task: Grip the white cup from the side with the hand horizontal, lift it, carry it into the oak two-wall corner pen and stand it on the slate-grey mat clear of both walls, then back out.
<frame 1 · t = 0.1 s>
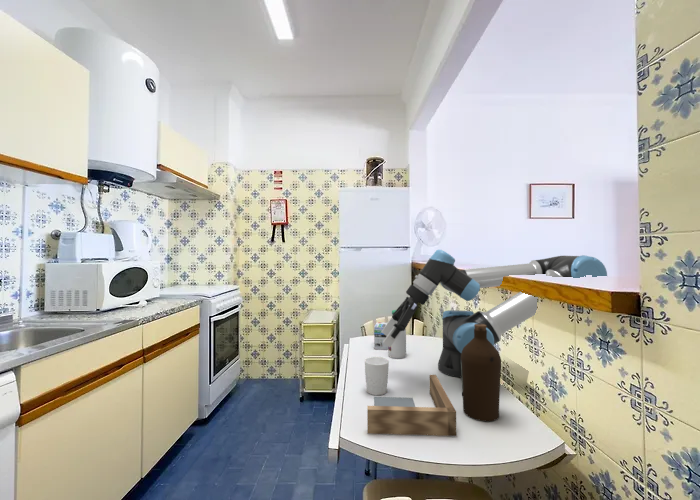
hand: (385, 339, 112), 15 cm above the table, tool tilted 35°, fingers open, 13 cm apart
white cup: (376, 391, 105), on the table
brown bottle: (480, 413, 91), on the table
light bulb box: (382, 347, 155), on the table
corner pen: (394, 407, 94), on the table
slate mat: (394, 407, 94), on the table
milk bottle: (397, 356, 141), on the table
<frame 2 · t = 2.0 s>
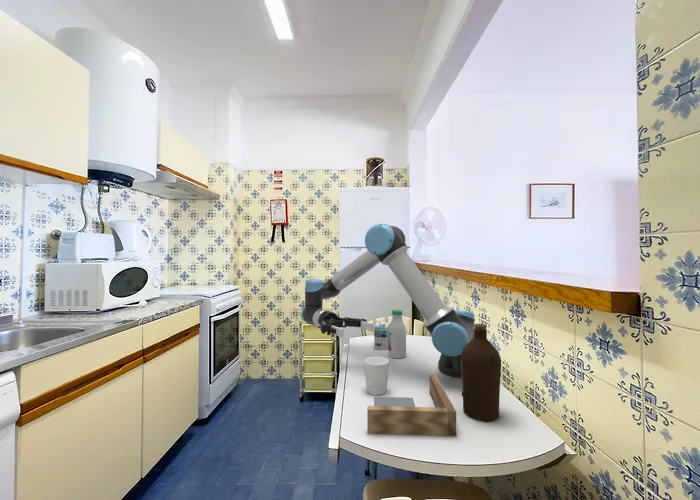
hand: (358, 330, 113), 18 cm above the table, tool horizontal, fingers open, 13 cm apart
nothing on the table moved.
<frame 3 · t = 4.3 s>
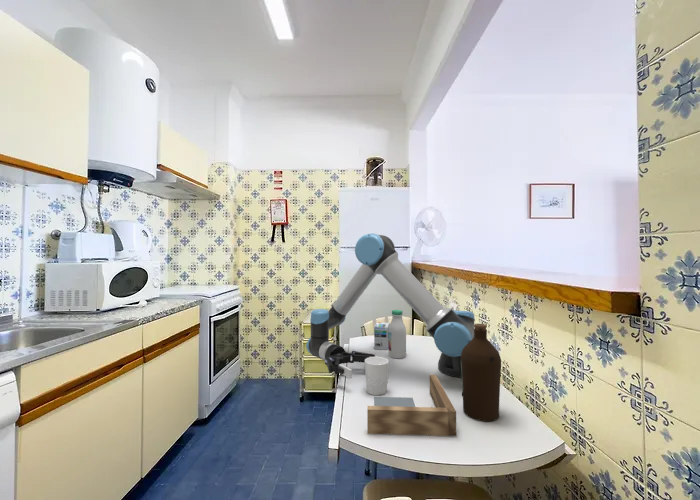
hand: (367, 369, 109), 6 cm above the table, tool horizontal, fingers open, 13 cm apart
nothing on the table moved.
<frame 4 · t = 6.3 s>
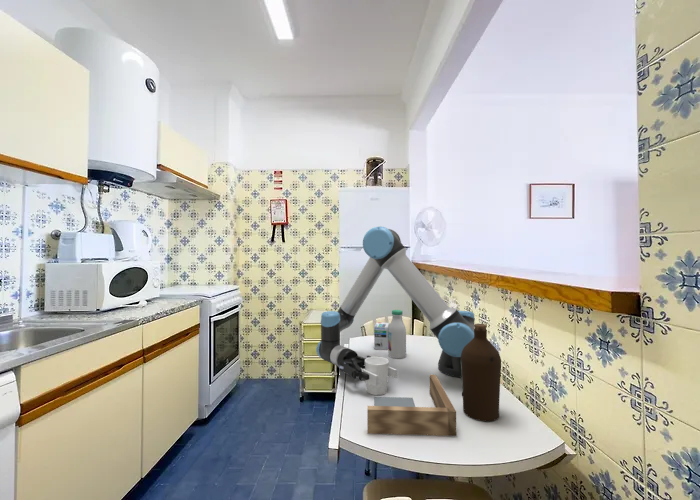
hand: (386, 377, 102), 6 cm above the table, tool horizontal, fingers closed on white cup, 8 cm apart
white cup: (376, 391, 105), on the table, touching gripper
everything else where it was.
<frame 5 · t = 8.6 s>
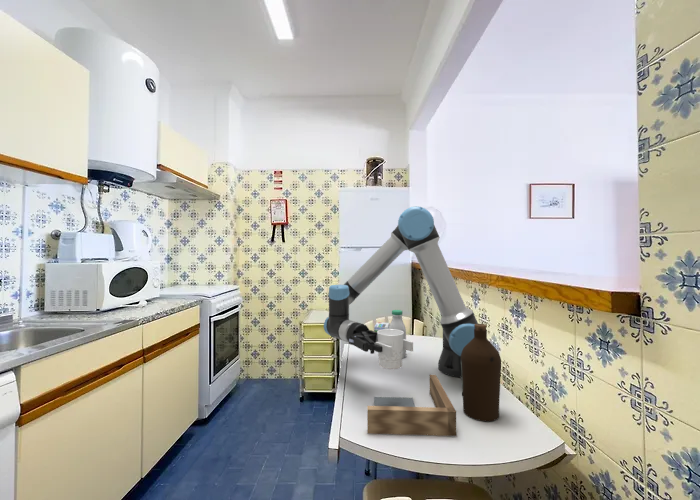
hand: (402, 349, 92), 18 cm above the table, tool horizontal, fingers closed on white cup, 8 cm apart
white cup: (390, 366, 96), point 12 cm above the table, touching gripper
everything else where it was.
when the fingers open (7 cm above the table, at t = 11.1 s): white cup drops 1 cm, resting on slate mat.
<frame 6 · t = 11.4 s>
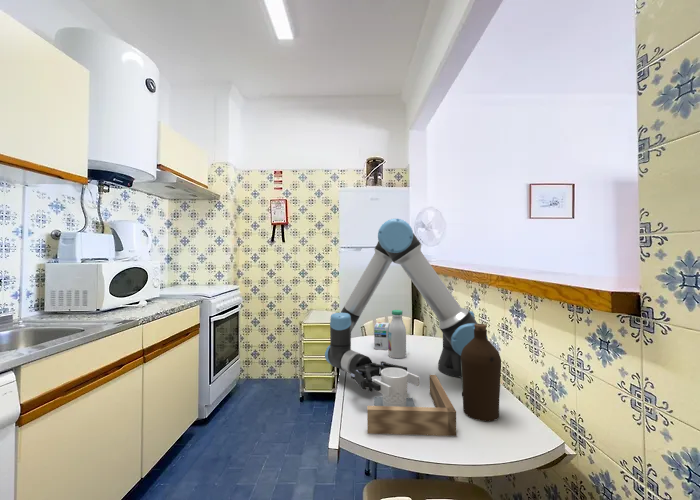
hand: (404, 386, 91), 7 cm above the table, tool horizontal, fingers open, 11 cm apart
white cup: (394, 407, 94), resting on slate mat
everything else where it was.
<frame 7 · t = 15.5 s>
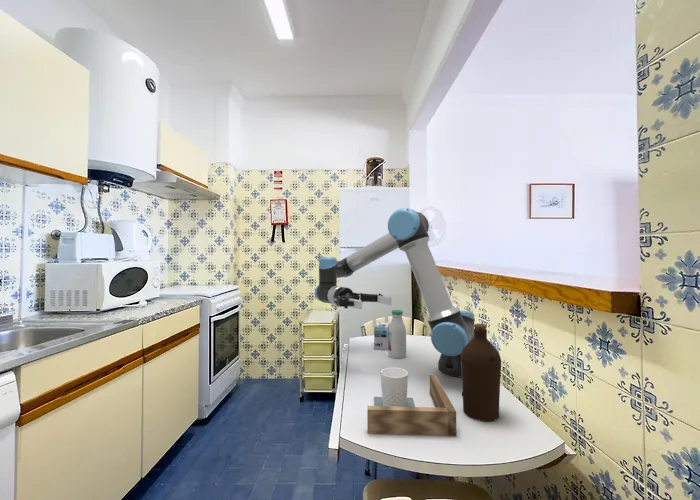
hand: (376, 303, 111), 28 cm above the table, tool horizontal, fingers open, 13 cm apart
nothing on the table moved.
at the end: white cup inside the target area (0.1 cm from its centre), resting on slate mat; white cup tilted 0°; white cup touching slate mat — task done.
